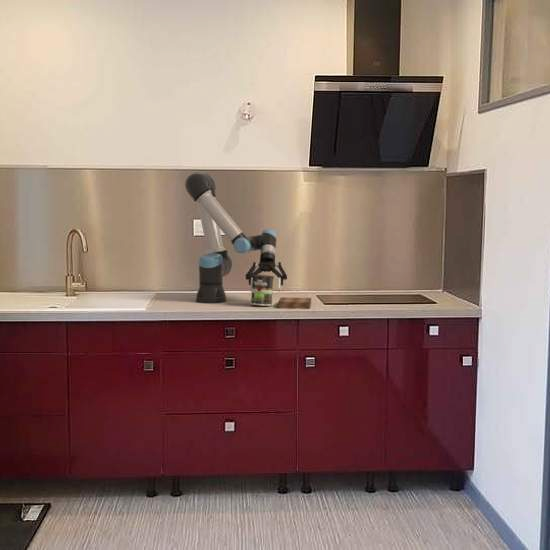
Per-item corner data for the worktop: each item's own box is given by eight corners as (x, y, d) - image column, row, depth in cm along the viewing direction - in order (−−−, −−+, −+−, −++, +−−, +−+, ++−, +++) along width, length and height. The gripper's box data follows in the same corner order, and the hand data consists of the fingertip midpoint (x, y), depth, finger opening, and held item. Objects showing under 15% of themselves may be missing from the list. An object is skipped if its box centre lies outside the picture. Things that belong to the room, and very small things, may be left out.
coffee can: (268, 306, 341) (270, 276, 340) (247, 304, 344) (249, 275, 343) (274, 304, 351) (276, 276, 350) (254, 303, 354) (256, 274, 353)
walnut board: (277, 308, 340) (277, 301, 339) (280, 303, 354) (280, 297, 354) (309, 308, 338) (309, 302, 338) (311, 303, 353) (311, 297, 353)
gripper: (293, 260, 362) (291, 294, 349) (243, 260, 364) (240, 294, 351) (292, 251, 356) (290, 285, 343) (242, 251, 358) (238, 285, 345)
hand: (265, 290), depth 347 cm, fingers open, 13 cm apart
